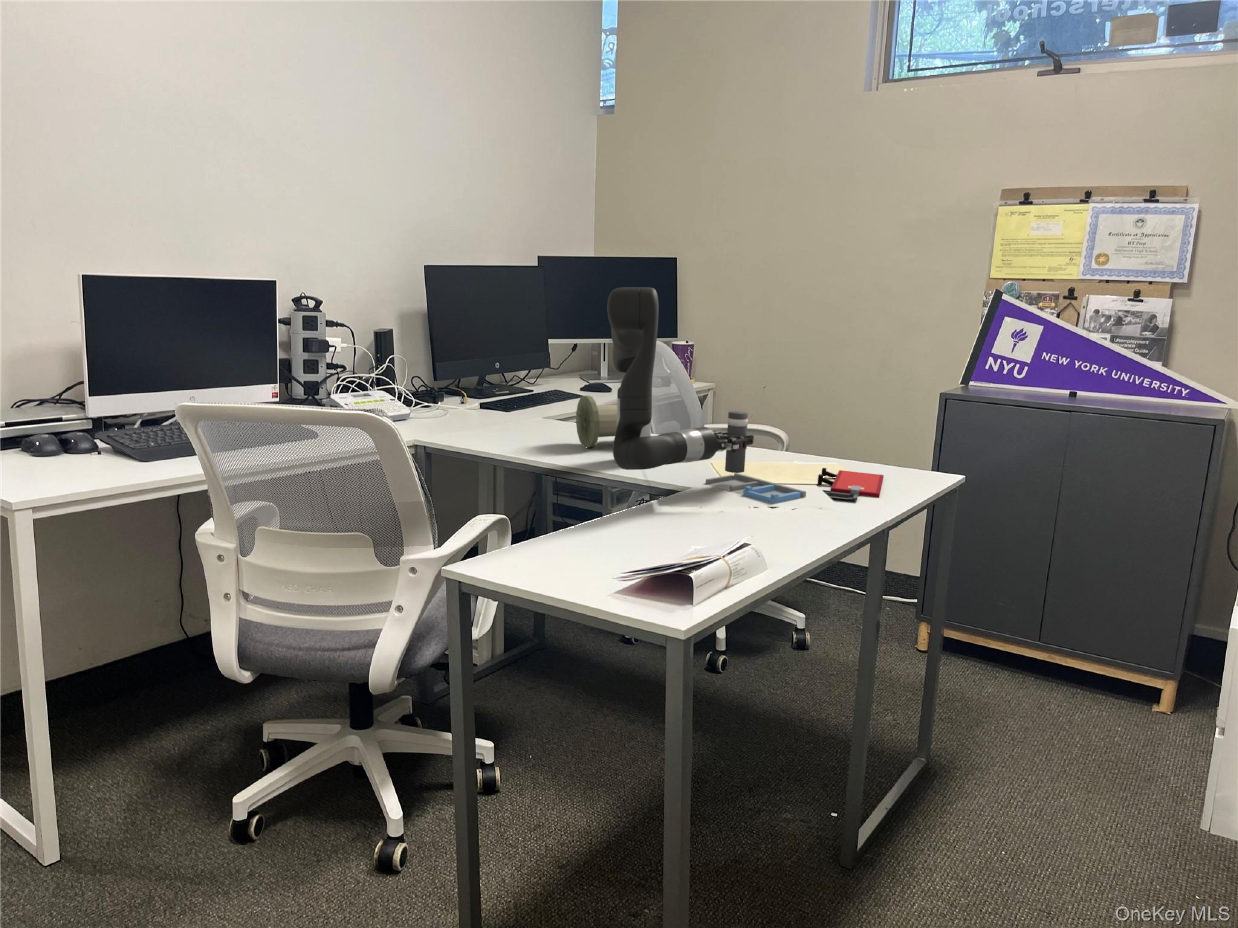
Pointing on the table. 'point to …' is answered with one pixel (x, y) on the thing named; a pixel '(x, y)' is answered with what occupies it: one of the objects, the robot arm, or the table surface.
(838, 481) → the red board with handle
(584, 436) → the spool
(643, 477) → the table surface
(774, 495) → the blue and grey tray
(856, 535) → the table surface
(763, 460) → the table surface
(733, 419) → the banded grey cylinder
